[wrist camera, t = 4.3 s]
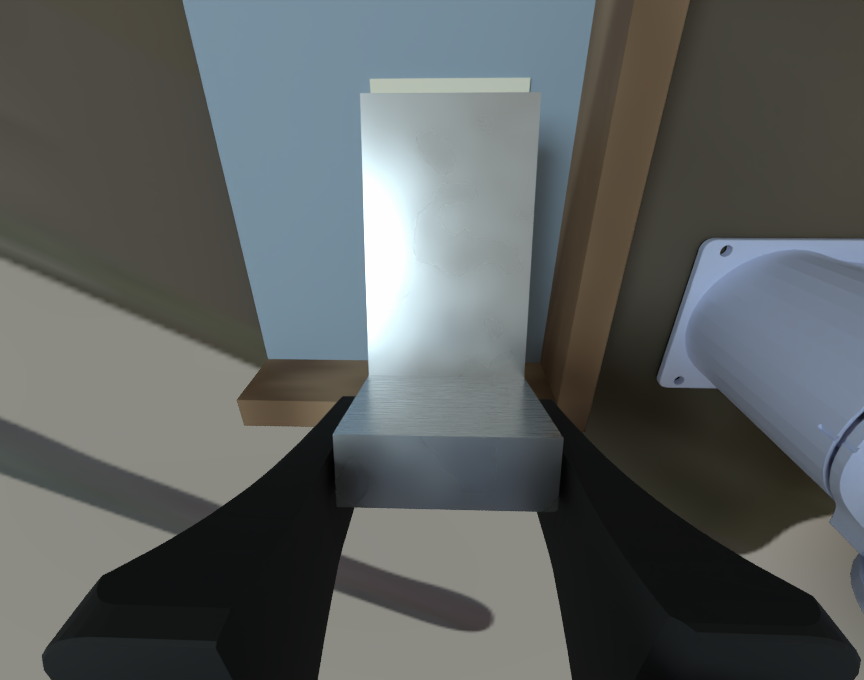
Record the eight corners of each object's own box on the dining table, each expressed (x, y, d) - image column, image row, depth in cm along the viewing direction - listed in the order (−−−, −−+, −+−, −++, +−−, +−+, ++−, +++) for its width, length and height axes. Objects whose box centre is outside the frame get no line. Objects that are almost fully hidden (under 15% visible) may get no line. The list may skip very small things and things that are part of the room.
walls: (738, -539, 9) (923, -961, 6) (562, 382, 22) (585, 431, 18) (70, -505, 10) (-149, -875, 6) (276, 378, 22) (244, 425, 18)
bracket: (511, 408, 15) (557, 511, 9) (379, 406, 15) (336, 506, 9) (527, 114, 12) (602, -9, 7) (371, 115, 13) (308, -5, 7)
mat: (738, -539, 9) (755, -578, 9) (562, 382, 22) (565, 388, 21) (70, -505, 10) (49, -540, 9) (276, 378, 22) (272, 383, 21)
